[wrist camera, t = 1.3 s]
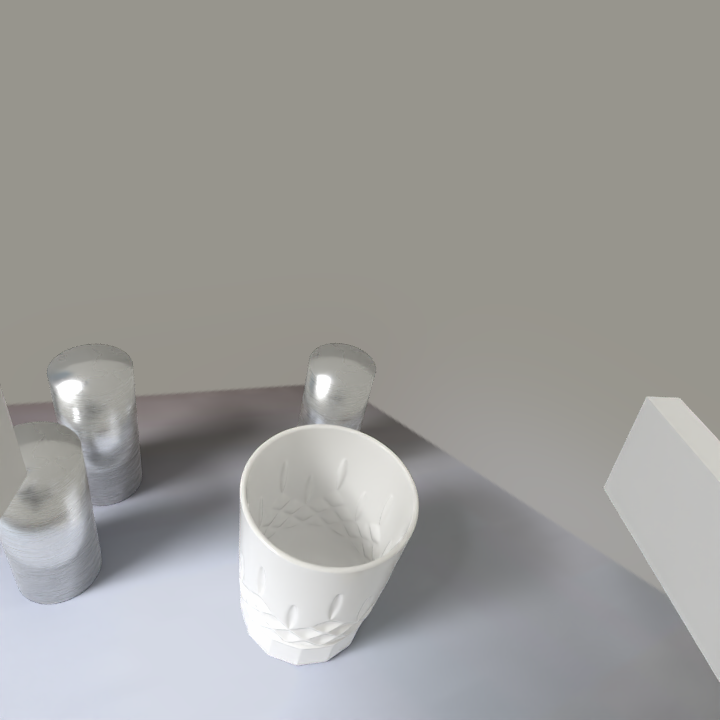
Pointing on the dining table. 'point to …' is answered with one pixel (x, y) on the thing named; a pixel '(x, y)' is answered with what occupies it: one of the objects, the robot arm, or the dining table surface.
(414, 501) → the white cup
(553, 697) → the dining table surface
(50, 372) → the cylinder
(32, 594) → the cylinder
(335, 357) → the cylinder
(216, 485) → the dining table surface
